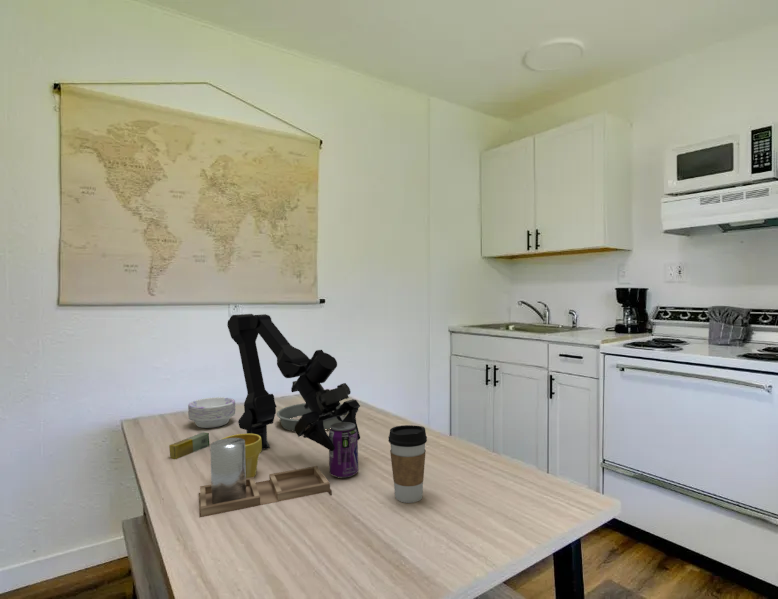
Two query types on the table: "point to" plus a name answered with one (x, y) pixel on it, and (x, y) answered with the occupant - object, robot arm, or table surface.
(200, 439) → the medication box
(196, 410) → the paper bowls
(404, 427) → the coffee cup
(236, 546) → the table surface
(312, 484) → the wooden tray
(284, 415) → the cake pan
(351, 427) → the beverage can
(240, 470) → the seated billet
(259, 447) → the plant pot
